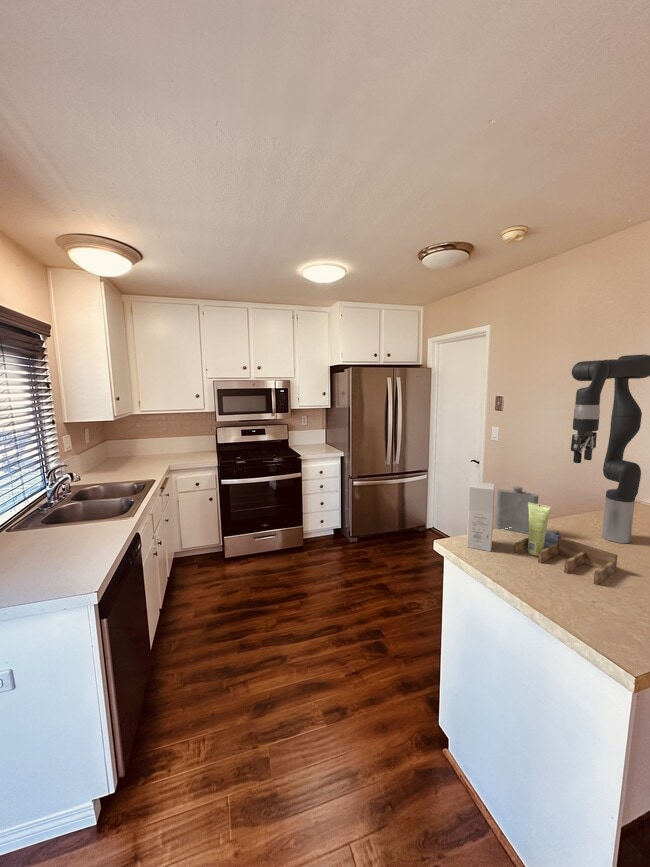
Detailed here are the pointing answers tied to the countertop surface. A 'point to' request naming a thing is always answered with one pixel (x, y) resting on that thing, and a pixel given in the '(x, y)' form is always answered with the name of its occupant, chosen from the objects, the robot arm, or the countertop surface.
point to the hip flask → (514, 509)
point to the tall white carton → (480, 515)
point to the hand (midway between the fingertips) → (582, 461)
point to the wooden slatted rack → (574, 555)
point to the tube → (537, 527)
